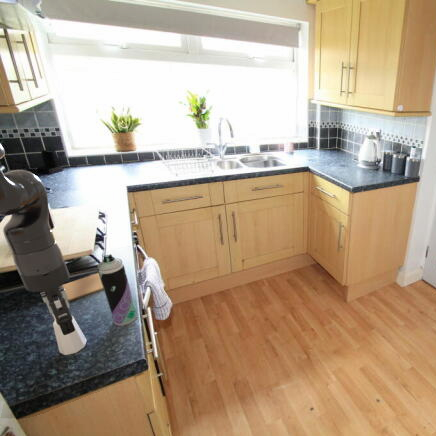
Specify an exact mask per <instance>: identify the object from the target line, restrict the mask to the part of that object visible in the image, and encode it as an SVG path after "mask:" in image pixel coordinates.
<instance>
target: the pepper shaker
mask: <svg viewBox="0 0 436 436" xmlns="http://www.w3.org/2000/svg"><path fill="white" fill-rule="evenodd" d="M66 314H67V313H65V314H62V315H60V316H59V317H61V316H64V315H66ZM51 316H52V317H53V319H54V321H53V323H52V326H53V330H54V334H55V338H56V339H55V340H56V343H57V347H58V352H59V353H60V354H61V355H63V356H70V355H73V354H77V353H78V352H80V351H81V350H83V349H84V348H85V347H86V345H87V342H88V339H87V338H86V336H85V335H84V333H83V331H82V329H81V328H80V326H79V324H78V323H77V322H78V321H76V319H75V317H74V316H73V315H71V316H72V323H73V325H74V328H75V331H74V332H72V333H70V334H67V335H63V333H62V330H61V328H60V326H59V325H58V324H57V323H56V318H55V316H54V314H51ZM59 317H58V318H59Z"/></svg>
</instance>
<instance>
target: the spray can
mask: <svg viewBox="0 0 436 436" xmlns="http://www.w3.org/2000/svg"><path fill="white" fill-rule="evenodd" d="M126 272H127V271H126V269H125V265H124V262H123V260H122V259H121V258H116V257H114V256H113V255H112V254H110V253H109V254H106V255H103V259H102V261H101V262H99V263H98V264H97V273H99V276H100V279H101V283H102V286H103V289H102V290H103V293H104V295H105V298H106V302H107V305H108V308H109V311H110V314H111V317H112V321H113V323H114V325H115V326H119V327H123V326H127V325H130V324H131V323H133V322H135V320H136V319H137V318H138V312H137V309H136V305H135V302H134V297H133V294H132V290H131V287H130V283H129V279H128V276H127V273H126Z"/></svg>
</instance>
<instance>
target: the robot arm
mask: <svg viewBox="0 0 436 436" xmlns="http://www.w3.org/2000/svg"><path fill="white" fill-rule="evenodd" d="M5 154H6V151H5V148H4V146H2V144H1V143H0V160H1V159H2V158H4V156H5ZM0 216H1V217H2V216H4V217H5V216H10V219H9V220H8V221H7V223H6V224H5V225H4V226H3V229H2V233H3V236H4V238H5V241H6V243H7V245H8V248H9V250H10V252H11V254H12V255H11V256H12V259H13V263H14V265H15V267H16V270H17V272H18V274H19V277H20V279H21V281H22V283H23V285H24V287H25V289H26V291H28V292H31V293H40V295H41V299H42V301H43V303H44V304H46V307H47V309H48V311H49V314H50V315H52V314H54V316H55V318H56V323H57V324H58V325H59V326H60V328H61V330H62V333H63V335H67V334H70V333H72V332H74V331H75V328H74V325H73V323H72V316H73V315H72V314H71V313H70V310H69V309H70V303H69V301H68V299H67V297H66V292H65V290H64V288H63V286H62V285H64V284H66V283H67V281H68V280H69V279H70V272H69V269H68V267H67V264H66V261H65V258H64V255H63V253H62V250H61V248H60V247H59V244H58V243H57V241H56V239H55V235H54V233H53V230H52V227H51V226H50V221H49V218H50V210H49V198H48V192H47V189H46V186H45V183H43V181H42V180H41V179H40V178H39V177H38V176H37V175H35V174H34V173H32V172H31V171H29V170H24V169H15V170H10V171H7V172H3V170H2V169H1V167H0ZM65 313H67V314H66V315H64V316H61V317H59V316H60V315H62V314H65ZM58 317H59V318H58Z"/></svg>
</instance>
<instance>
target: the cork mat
mask: <svg viewBox="0 0 436 436" xmlns="http://www.w3.org/2000/svg"><path fill="white" fill-rule="evenodd" d="M62 286H63V288H64V290H65V292H66V298H67V301H68V302H72V301H74V300H78V299H81V298H83V297H86V296H88V295H91V294H93V293H96V292H99V291H102V290H104V289H103V286H102V283H101V279H100V276H99V273H98V272H97V273H93V274H91V275H88V276H84V277H81V278H79V279H76V280H73V281H70V282H66V283H64V284H62Z"/></svg>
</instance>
